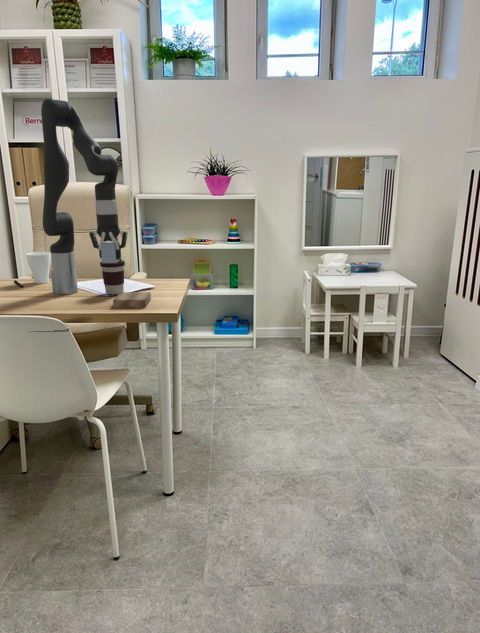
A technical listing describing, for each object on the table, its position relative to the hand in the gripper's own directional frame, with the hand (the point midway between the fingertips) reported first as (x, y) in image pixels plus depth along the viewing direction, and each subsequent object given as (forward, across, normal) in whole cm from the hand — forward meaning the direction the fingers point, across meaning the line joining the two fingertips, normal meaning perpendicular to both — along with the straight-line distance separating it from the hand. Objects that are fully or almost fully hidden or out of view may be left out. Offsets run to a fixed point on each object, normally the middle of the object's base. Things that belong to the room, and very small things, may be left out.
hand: (110, 259), depth 178 cm
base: (+18, +6, +3) cm, 19 cm away
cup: (+17, -45, +41) cm, 63 cm away
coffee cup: (+18, -5, +20) cm, 27 cm away
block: (+1, 0, 0) cm, 1 cm away
